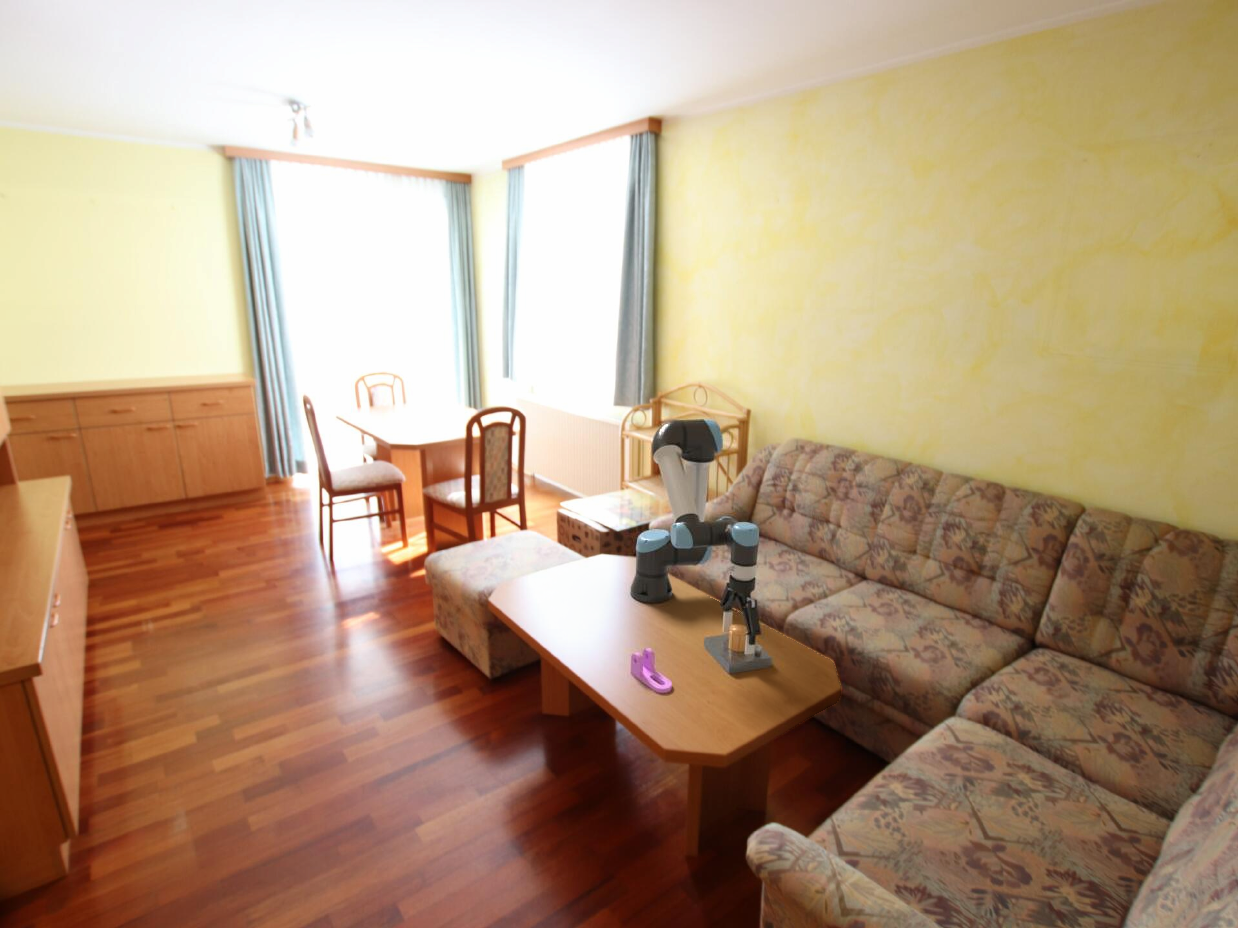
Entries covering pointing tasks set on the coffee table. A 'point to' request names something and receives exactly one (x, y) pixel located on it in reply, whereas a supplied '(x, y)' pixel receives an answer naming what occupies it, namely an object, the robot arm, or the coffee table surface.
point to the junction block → (736, 655)
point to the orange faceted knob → (737, 637)
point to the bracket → (649, 671)
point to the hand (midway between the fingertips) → (737, 641)
